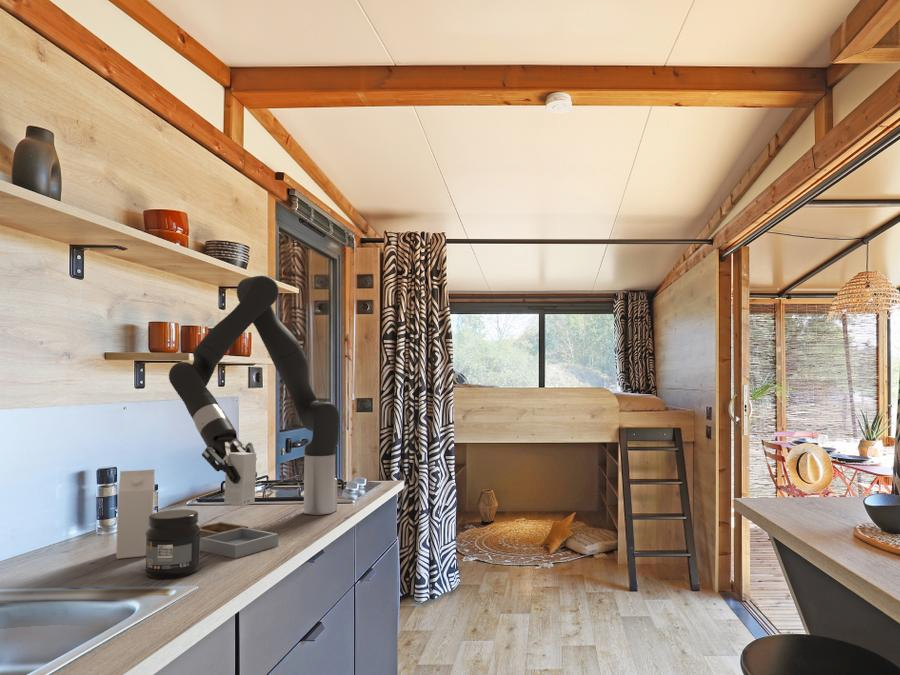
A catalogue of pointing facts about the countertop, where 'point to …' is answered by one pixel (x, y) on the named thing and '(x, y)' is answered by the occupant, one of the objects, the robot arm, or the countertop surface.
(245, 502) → the skincare box
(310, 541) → the countertop surface
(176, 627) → the countertop surface
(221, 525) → the holder
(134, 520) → the milk carton
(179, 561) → the supplement container
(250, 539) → the tray
